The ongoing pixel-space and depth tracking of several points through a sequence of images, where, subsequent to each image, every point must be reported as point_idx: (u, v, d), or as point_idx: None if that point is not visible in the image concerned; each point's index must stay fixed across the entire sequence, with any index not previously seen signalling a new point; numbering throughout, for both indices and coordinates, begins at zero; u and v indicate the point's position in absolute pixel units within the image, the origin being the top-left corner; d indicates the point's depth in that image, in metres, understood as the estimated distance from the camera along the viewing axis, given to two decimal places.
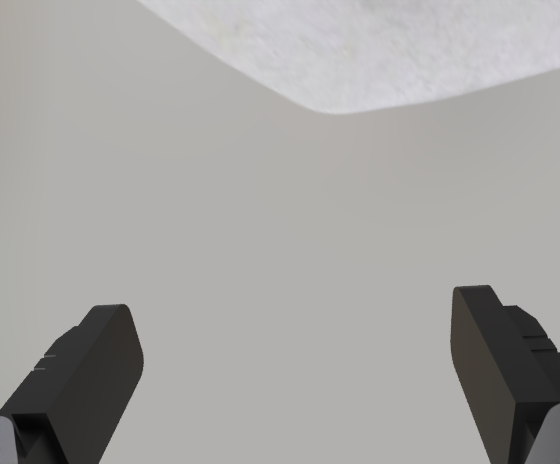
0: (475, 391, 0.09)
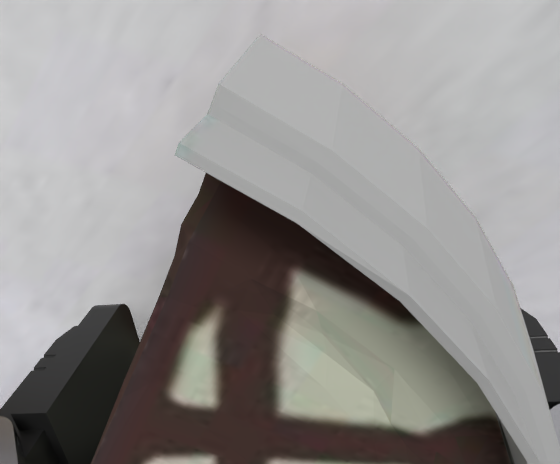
0: None
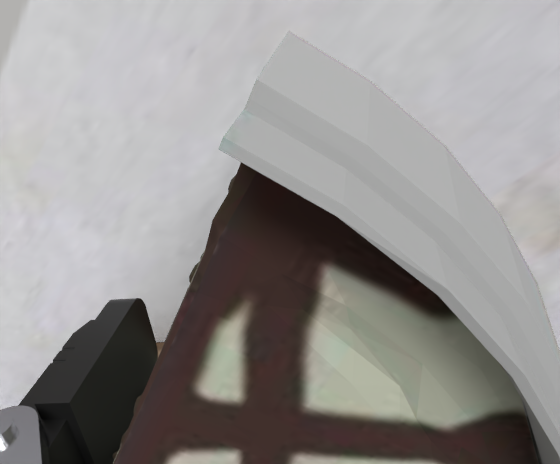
0: None
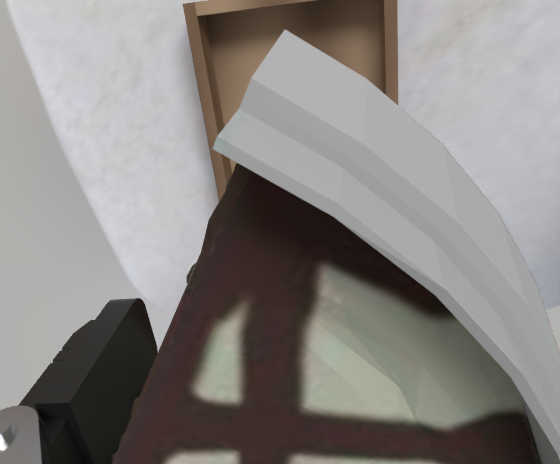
0: None
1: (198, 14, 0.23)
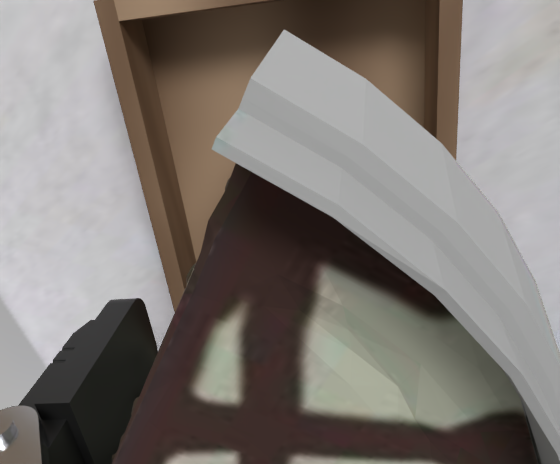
0: None
1: (121, 18, 0.13)
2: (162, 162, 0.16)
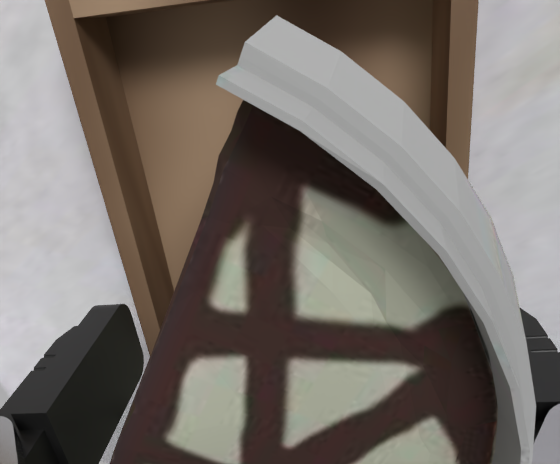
0: None
1: (76, 15, 0.11)
2: (131, 180, 0.14)
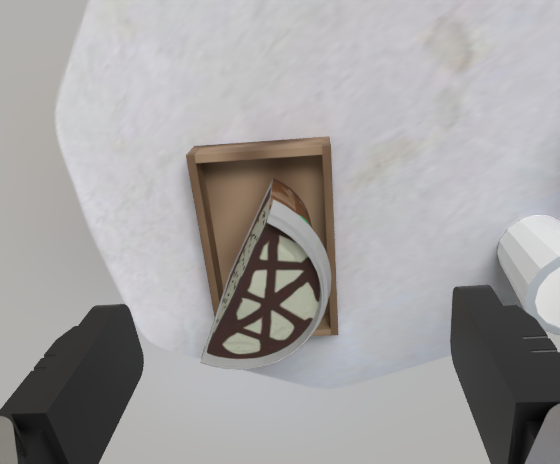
0: (475, 391, 0.09)
1: (196, 162, 0.33)
2: (207, 216, 0.36)
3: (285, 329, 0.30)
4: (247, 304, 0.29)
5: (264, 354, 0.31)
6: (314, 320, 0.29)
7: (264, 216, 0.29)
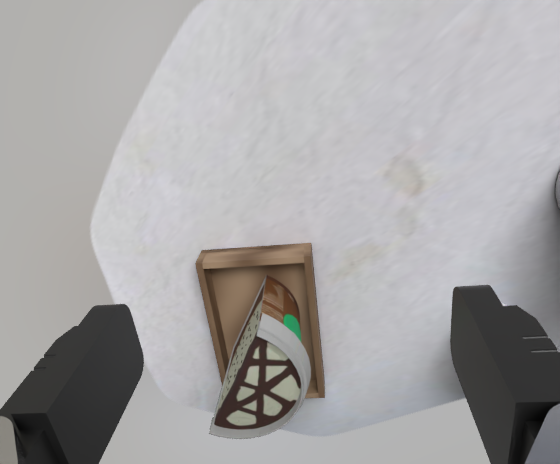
0: (475, 391, 0.09)
1: (204, 268, 0.41)
2: (213, 306, 0.44)
3: (275, 408, 0.38)
4: (244, 390, 0.37)
5: (259, 426, 0.39)
6: (297, 402, 0.37)
7: (257, 319, 0.37)
